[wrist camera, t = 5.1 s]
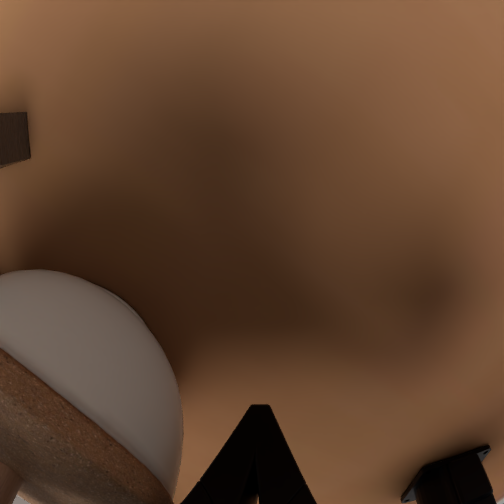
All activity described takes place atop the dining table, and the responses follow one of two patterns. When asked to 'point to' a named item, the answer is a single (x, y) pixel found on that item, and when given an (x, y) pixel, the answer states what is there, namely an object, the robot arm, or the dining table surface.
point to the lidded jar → (83, 397)
